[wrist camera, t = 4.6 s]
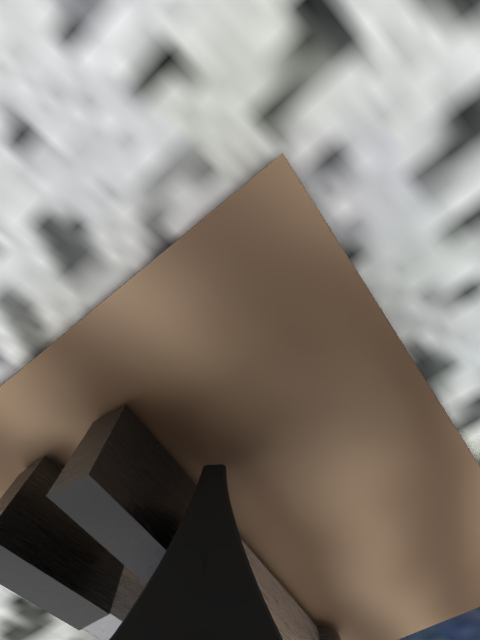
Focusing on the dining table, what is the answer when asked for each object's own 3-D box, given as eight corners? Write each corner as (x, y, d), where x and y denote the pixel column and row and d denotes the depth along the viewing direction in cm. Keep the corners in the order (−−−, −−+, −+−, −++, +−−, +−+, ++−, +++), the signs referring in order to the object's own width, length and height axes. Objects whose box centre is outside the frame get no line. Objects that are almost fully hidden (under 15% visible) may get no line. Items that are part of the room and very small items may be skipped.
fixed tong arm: (269, 628, 16) (277, 719, 13) (246, 638, 17) (249, 730, 14) (45, 454, 12) (-15, 535, 9) (20, 473, 12) (-46, 557, 9)
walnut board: (260, 660, 21) (262, 693, 19) (-58, 434, 14) (-91, 461, 12) (524, 547, 17) (550, 578, 16) (275, 160, 10) (282, 153, 9)
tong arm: (348, 644, 17) (373, 740, 14) (302, 659, 18) (317, 755, 14) (140, 396, 11) (105, 469, 8) (79, 428, 12) (25, 509, 9)
